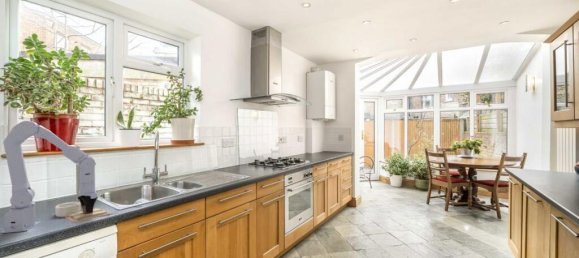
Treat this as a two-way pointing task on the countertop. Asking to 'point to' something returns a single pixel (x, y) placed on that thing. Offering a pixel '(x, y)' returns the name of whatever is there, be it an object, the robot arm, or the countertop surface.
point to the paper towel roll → (78, 181)
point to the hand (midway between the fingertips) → (87, 211)
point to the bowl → (67, 208)
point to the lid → (87, 214)
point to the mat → (84, 219)
